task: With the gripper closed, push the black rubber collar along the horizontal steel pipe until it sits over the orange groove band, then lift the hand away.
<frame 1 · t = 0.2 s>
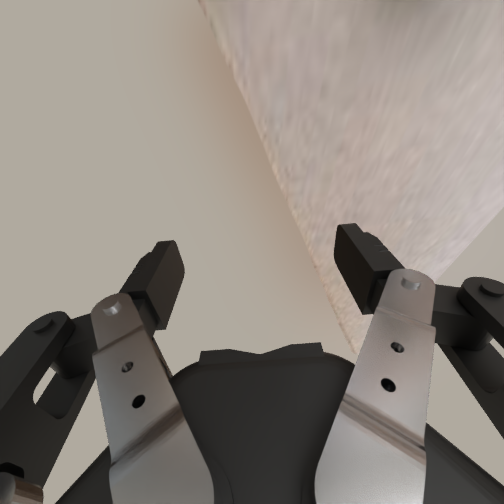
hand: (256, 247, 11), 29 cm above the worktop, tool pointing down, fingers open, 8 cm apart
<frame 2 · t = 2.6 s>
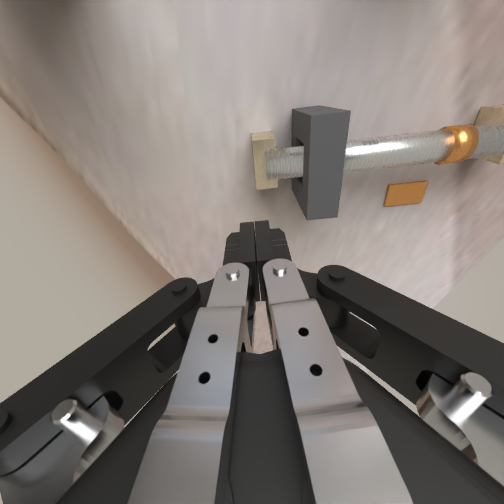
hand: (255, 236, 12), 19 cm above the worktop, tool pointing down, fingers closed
collar: (313, 160, 24), point 5 cm above the worktop, slide at -8.0 cm
pipe: (370, 143, 27), on the worktop
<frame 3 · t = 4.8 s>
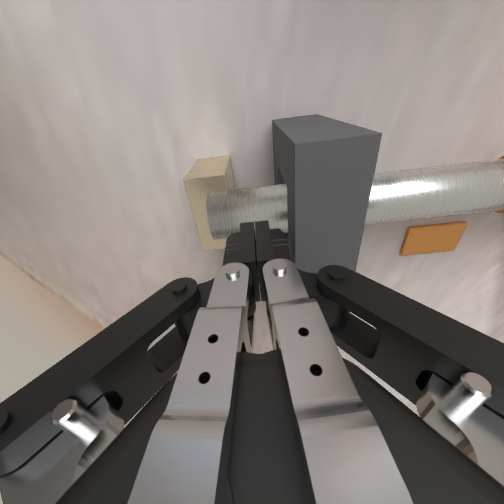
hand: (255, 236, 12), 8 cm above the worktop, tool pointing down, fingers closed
collar: (306, 206, 14), point 5 cm above the worktop, slide at -7.0 cm, touching gripper
pipe: (382, 170, 18), on the worktop
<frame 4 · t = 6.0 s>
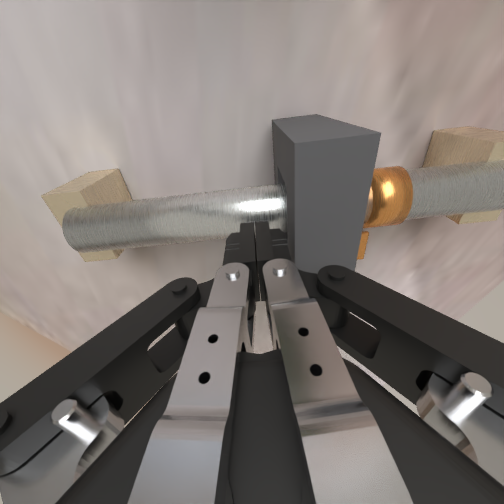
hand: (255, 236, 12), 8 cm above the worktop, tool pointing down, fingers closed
collar: (306, 205, 14), point 5 cm above the worktop, slide at 1.6 cm, touching gripper
pipe: (272, 183, 18), on the worktop
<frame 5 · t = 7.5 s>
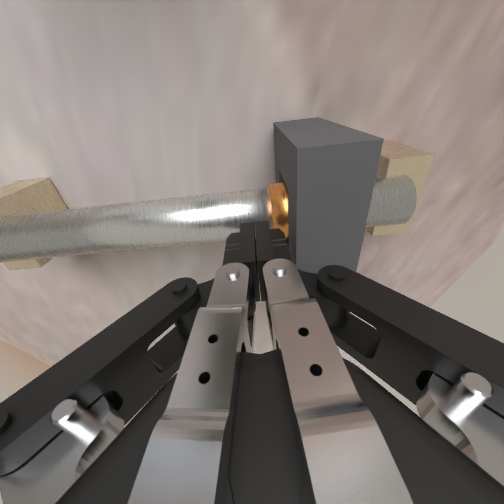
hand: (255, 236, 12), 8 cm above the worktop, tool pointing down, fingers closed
collar: (307, 209, 14), point 5 cm above the worktop, slide at 7.3 cm, touching gripper
pipe: (204, 192, 19), on the worktop
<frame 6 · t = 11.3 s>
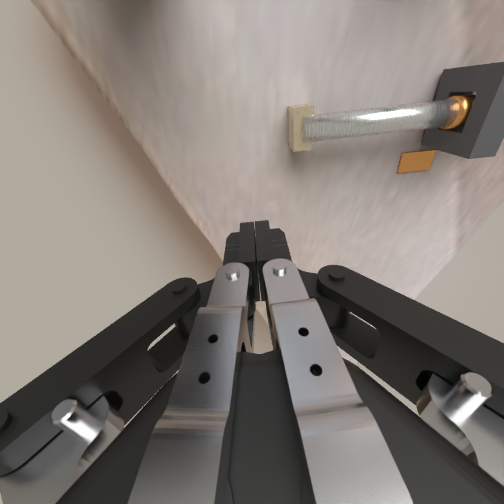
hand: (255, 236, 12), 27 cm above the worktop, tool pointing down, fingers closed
collar: (468, 111, 28), point 5 cm above the worktop, slide at 7.3 cm
pipe: (387, 115, 33), on the worktop
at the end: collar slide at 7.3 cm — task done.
